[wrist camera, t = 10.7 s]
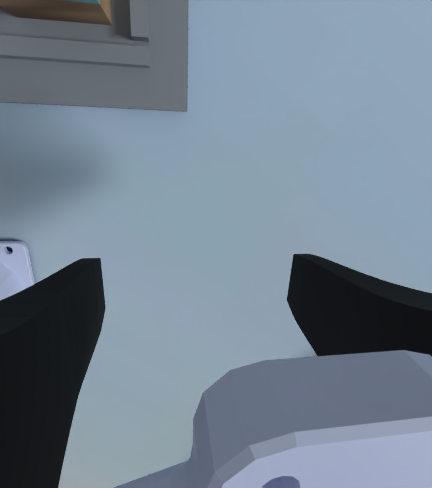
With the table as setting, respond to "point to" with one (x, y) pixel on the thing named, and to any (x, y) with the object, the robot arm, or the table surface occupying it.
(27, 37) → the plate
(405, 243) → the table surface
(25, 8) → the block stack
